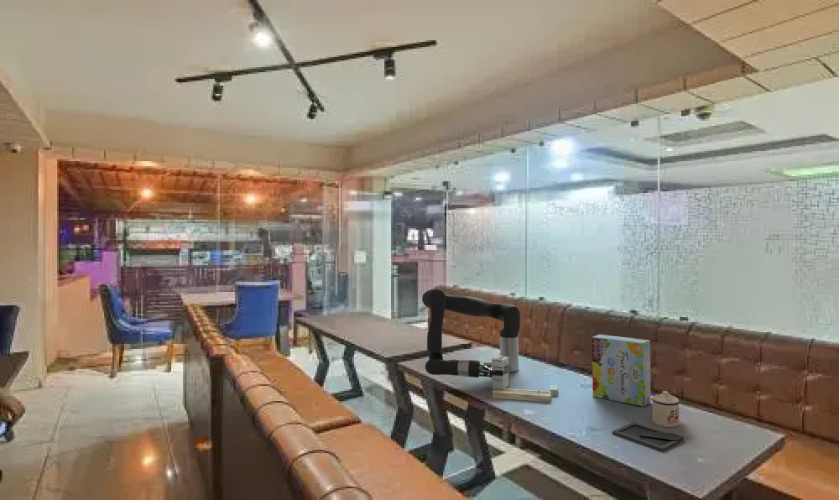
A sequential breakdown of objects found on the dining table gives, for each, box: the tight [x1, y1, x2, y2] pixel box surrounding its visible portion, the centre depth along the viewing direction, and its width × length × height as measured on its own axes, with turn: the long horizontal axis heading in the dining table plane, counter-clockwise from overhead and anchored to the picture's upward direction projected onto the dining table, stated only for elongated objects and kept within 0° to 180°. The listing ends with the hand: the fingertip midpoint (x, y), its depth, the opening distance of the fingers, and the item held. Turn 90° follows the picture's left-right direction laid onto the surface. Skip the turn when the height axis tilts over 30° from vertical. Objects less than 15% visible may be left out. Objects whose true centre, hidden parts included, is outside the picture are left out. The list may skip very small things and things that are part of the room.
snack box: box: [591, 334, 652, 407], centre depth 209 cm, size 22×9×26 cm, turn 47°
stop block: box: [549, 384, 559, 397], centre depth 219 cm, size 7×3×2 cm, turn 163°
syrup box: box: [491, 355, 511, 391], centre depth 225 cm, size 6×6×14 cm
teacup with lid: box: [651, 390, 681, 428], centre depth 184 cm, size 12×9×12 cm
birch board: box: [492, 388, 552, 403], centre depth 214 cm, size 6×24×3 cm, turn 73°
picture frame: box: [612, 421, 685, 453], centre depth 172 cm, size 13×2×18 cm
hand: (504, 370), depth 225 cm, fingers open, 8 cm apart
